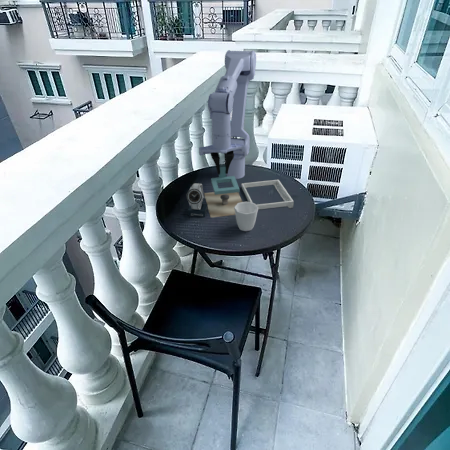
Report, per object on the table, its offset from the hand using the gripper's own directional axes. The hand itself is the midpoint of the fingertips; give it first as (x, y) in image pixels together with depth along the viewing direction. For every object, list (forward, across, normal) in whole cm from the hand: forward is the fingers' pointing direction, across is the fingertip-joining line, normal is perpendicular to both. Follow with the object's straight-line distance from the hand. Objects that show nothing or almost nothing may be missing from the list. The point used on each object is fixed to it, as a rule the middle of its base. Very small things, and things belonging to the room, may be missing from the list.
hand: (222, 172), depth 110 cm
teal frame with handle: (+3, 0, -4) cm, 5 cm away
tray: (+10, +15, -3) cm, 18 cm away
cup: (+10, +4, -18) cm, 21 cm away
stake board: (+10, 0, -4) cm, 11 cm away
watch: (+10, -10, -9) cm, 17 cm away
